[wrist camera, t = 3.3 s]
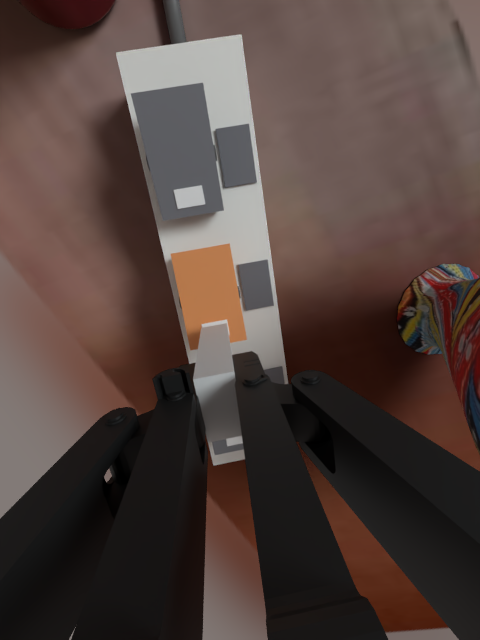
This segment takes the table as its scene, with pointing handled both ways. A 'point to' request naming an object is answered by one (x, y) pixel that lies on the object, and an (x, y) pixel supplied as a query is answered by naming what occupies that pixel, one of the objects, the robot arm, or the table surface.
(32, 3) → the soda can
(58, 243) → the table surface
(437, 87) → the table surface
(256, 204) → the power strip
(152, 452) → the robot arm
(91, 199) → the table surface
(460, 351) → the vase
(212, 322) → the rocker middle
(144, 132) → the rocker
